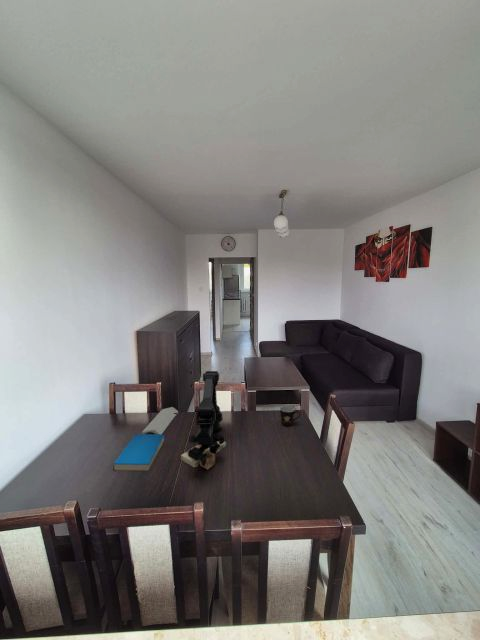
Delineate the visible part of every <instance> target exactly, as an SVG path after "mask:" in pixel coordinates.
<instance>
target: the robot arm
mask: <svg viewBox="0 0 480 640" xmlns="http://www.w3.org/2000/svg"><path fill="white" fill-rule="evenodd" d="M219 381H220V372H219V371H218V370H208V371H206V370H205V372H203V374H202V382H204V384H203V385H204V386H203V395H202V399H201V401H200V403H199V407H198V408H197V411H196V414H197V415H196V425H197V426H199V428H198V432H197V433H195V434H192V435H190V436H189V443H190V444H197V445H201V447H200V448H197V447H195V446H193V447H194V448H193V447H191V448H190V449H191V450H190V449H189V451H188V450H187V451H188V456H189V457H191V458H193V459H194V460H199V459H200V461H201V463H202V465H203V466H205V462H206V457H207V455H206V454H205V450H207V449H208V448H210V452H211V453H213V454H215V455H216V454H217V453H218V452H217V450H218V448H219V447H220V445H219V444H222V443H224V441H225V437H224V436H223V435H221V434H219V433H218V432H220V431H222V430H223V428H222V427H221V422H222V421H223V418H224V417H223V413H222V411H221V408H220V406H219V405H218V402H217V401H218V399H217V386H218V383H219ZM218 441H219V444H218ZM216 452H217V453H216Z"/></svg>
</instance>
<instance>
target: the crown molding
mask: <svg viewBox="0 0 480 640" xmlns="http://www.w3.org/2000/svg"><path fill="white" fill-rule="evenodd" d="M174 413H177V414H178V413H179V411H178V410H177V409H176V408H175V407H173V406H171V407H167V408H162V409H161V410H160V411H159V412H158V413H157V414H156V416H155V417H154V418H153V419H152V420H151V422H150V423H149V424H148V425H147V426H146V427H145V428H144V429H143V430H142V431H141V433H140V434H148V433H153V434H163V433H164V431H165V430H167V427H168V426H169V425H170V424H171V422H172V420H174V418H175V417H176V416H177V414H174Z"/></svg>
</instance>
